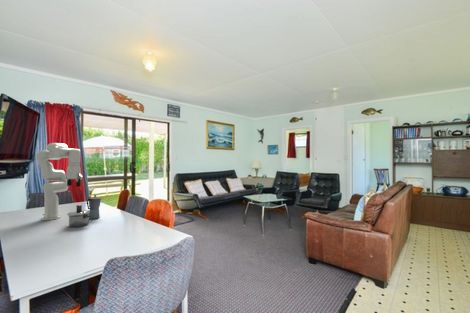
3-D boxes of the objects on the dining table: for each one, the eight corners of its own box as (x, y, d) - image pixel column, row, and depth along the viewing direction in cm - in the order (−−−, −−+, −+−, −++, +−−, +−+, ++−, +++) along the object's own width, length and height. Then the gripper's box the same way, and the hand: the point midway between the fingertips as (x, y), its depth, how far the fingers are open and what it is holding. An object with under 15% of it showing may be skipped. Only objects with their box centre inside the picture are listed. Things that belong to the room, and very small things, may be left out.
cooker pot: (61, 226, 176) (61, 214, 176) (77, 221, 189) (77, 210, 189) (81, 228, 170) (81, 216, 170) (96, 224, 182) (96, 212, 182)
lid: (63, 214, 175) (63, 206, 175) (81, 210, 188) (81, 203, 188) (76, 216, 170) (76, 207, 170) (93, 212, 184) (93, 204, 184)
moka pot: (104, 216, 207) (104, 193, 207) (92, 220, 191) (92, 196, 192) (94, 215, 208) (95, 193, 208) (81, 220, 192) (82, 196, 192)
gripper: (61, 164, 181) (61, 185, 181) (77, 165, 175) (77, 187, 176) (71, 163, 188) (70, 184, 188) (86, 164, 182) (86, 186, 183)
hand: (73, 186), depth 182 cm, fingers open, 9 cm apart
